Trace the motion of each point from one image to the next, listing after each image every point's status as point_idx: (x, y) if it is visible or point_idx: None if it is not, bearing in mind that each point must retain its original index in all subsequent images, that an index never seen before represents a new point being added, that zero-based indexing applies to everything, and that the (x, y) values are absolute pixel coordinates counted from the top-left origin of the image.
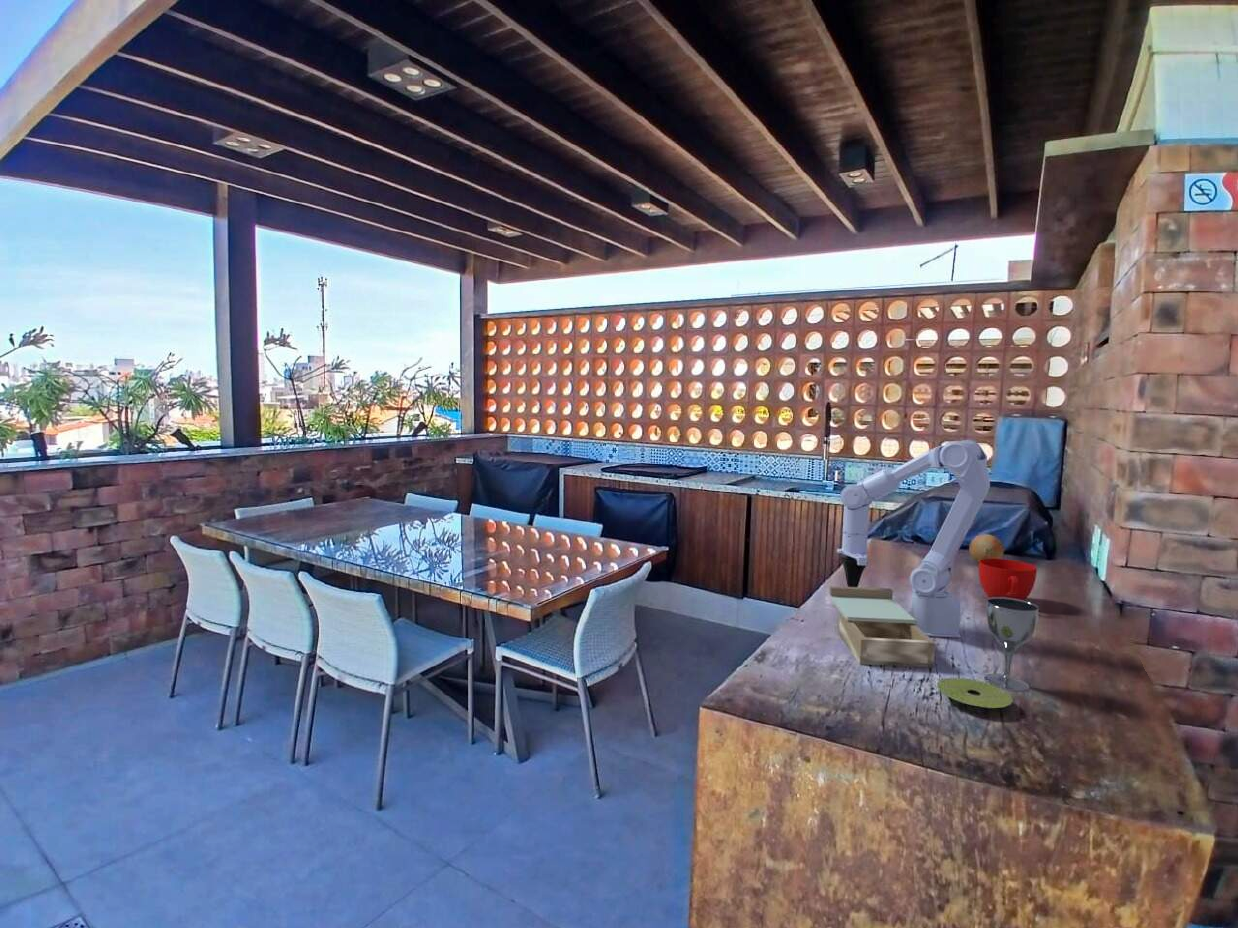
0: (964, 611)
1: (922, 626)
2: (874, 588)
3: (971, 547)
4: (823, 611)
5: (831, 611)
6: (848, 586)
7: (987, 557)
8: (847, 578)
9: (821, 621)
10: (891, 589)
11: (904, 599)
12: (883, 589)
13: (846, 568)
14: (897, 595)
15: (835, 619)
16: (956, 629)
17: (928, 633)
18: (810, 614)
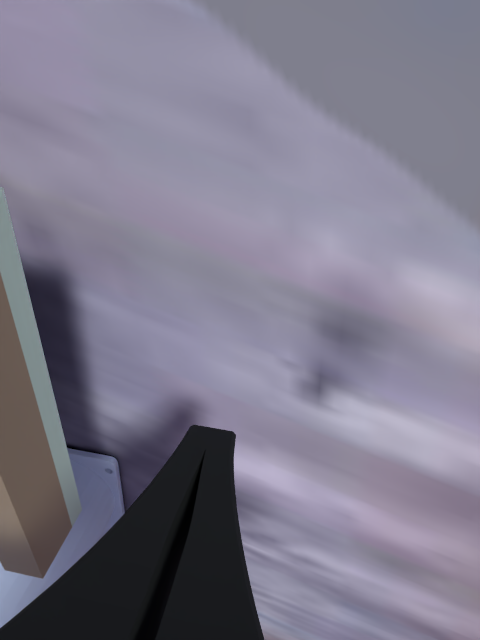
0: (264, 620)
1: None
2: (6, 520)
3: None
4: (248, 188)
5: (250, 241)
6: (199, 427)
7: None
8: (168, 479)
9: (50, 102)
10: (25, 574)
11: (400, 574)
12: (6, 546)
13: (72, 594)
14: (455, 580)
15: (110, 212)
16: None
17: None
18: (177, 60)
